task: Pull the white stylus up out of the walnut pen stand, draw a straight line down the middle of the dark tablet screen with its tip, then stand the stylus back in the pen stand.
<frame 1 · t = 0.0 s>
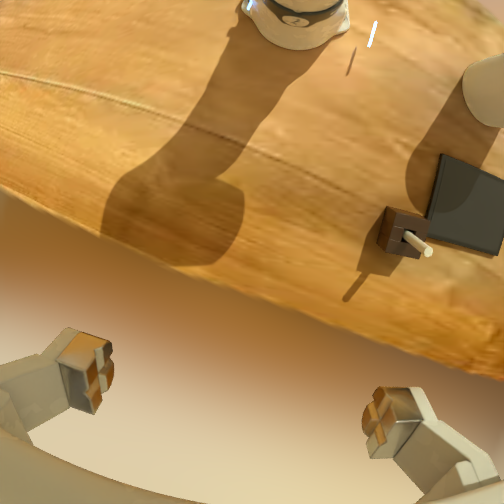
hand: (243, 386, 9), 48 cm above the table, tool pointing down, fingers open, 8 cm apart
pen stand: (398, 228, 55), on the table
stylus: (412, 239, 49), in the pen stand
utensil holder: (485, 94, 45), on the table
tablet: (472, 208, 53), on the table
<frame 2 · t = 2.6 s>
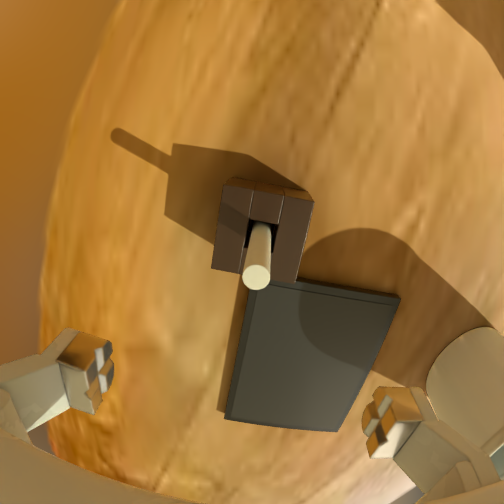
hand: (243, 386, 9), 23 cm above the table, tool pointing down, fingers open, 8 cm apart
pen stand: (262, 220, 31), on the table
stylus: (260, 242, 25), in the pen stand
utensil holder: (465, 364, 36), on the table
tablet: (303, 365, 36), on the table
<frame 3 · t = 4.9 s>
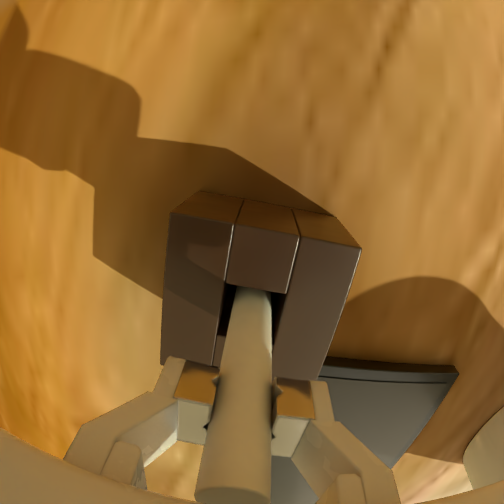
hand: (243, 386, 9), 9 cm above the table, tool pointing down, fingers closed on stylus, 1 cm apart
pen stand: (255, 268, 17), on the table
stylus: (249, 337, 11), in the pen stand, touching gripper
tablet: (313, 455, 23), on the table
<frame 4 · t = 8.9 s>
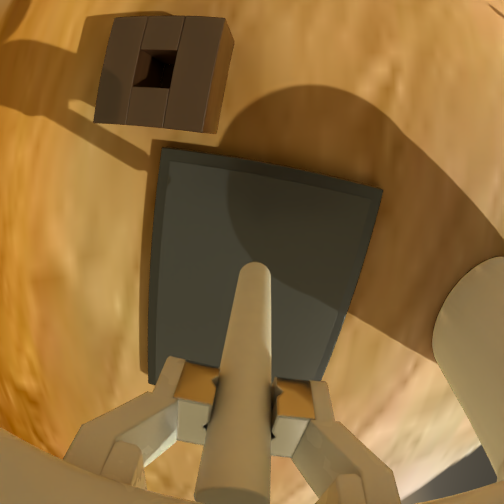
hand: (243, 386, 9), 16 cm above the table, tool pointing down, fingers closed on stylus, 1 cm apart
pen stand: (177, 81, 21), on the table
stylus: (248, 338, 11), point 14 cm above the table, touching gripper
utensil holder: (485, 315, 26), on the table
tablet: (247, 300, 26), on the table
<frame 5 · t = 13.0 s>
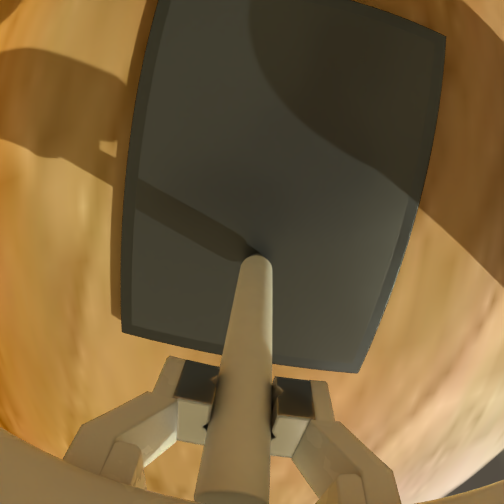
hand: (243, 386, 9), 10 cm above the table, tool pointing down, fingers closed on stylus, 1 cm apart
stylus: (249, 335, 11), point 8 cm above the table, touching gripper
tablet: (275, 181, 17), on the table
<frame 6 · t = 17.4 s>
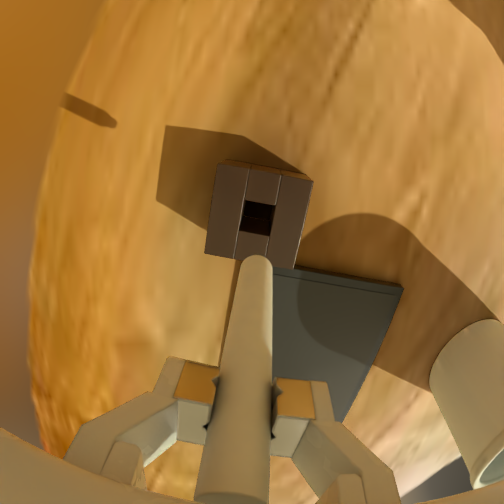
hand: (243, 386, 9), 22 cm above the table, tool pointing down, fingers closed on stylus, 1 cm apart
pen stand: (258, 205, 29), on the table
stylus: (249, 335, 11), point 19 cm above the table, touching gripper
utensil holder: (470, 358, 34), on the table
tablet: (302, 359, 35), on the table
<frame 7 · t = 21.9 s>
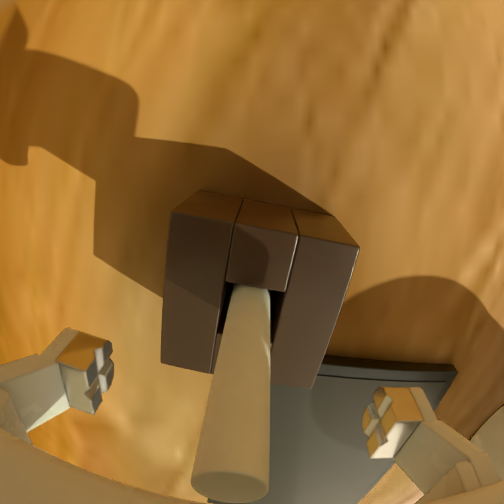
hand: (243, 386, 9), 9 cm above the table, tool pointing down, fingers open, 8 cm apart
pen stand: (254, 267, 18), on the table
stylus: (247, 326, 11), in the pen stand
tablet: (313, 454, 23), on the table
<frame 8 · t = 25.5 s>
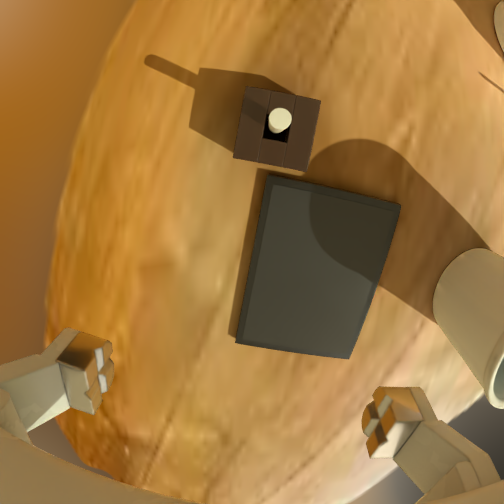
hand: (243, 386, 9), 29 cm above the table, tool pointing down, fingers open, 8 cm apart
pen stand: (275, 130, 33), on the table
stylus: (277, 123, 27), in the pen stand
utensil holder: (469, 289, 39), on the table
tablet: (314, 276, 39), on the table
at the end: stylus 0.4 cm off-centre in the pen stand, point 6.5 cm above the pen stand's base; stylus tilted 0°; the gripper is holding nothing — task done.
